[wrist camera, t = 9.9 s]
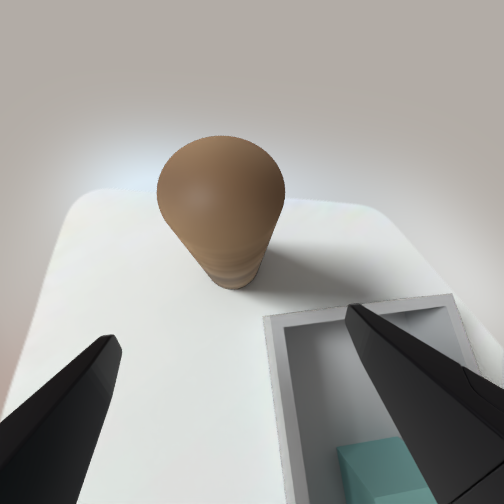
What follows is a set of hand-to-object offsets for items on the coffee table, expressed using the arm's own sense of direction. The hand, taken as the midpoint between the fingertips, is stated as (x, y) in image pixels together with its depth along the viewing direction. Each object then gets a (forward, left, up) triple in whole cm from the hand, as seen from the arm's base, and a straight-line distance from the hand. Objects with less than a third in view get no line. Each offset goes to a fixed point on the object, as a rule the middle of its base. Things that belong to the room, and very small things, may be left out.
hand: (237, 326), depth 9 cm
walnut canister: (+5, 0, -12) cm, 13 cm away
